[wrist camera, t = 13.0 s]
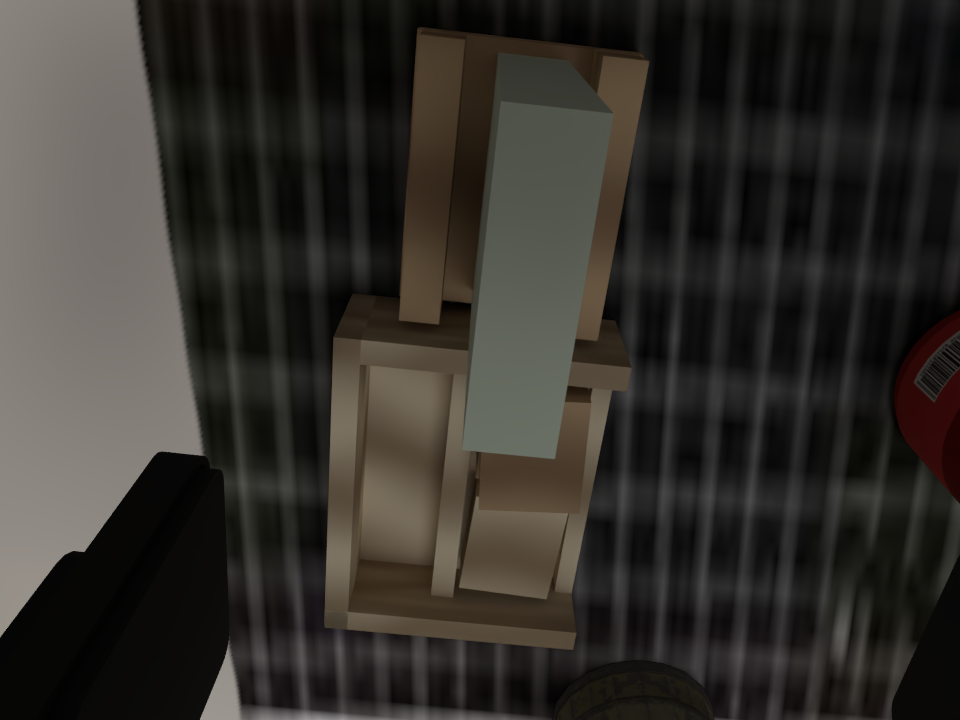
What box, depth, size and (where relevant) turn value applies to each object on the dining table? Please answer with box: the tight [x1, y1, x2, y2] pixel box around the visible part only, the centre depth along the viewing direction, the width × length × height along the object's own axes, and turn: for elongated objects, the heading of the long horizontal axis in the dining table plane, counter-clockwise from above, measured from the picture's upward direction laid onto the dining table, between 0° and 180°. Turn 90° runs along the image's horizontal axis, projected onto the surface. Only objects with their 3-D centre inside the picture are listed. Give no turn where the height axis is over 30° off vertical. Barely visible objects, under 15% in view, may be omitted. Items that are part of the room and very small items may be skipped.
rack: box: [324, 293, 632, 650], centre depth 35 cm, size 14×11×4 cm
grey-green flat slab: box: [462, 52, 614, 459], centre depth 25 cm, size 9×2×12 cm, turn 174°
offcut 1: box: [479, 386, 591, 514], centre depth 32 cm, size 5×4×2 cm
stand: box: [399, 27, 649, 341], centre depth 30 cm, size 10×8×4 cm
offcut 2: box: [459, 478, 568, 599], centre depth 36 cm, size 5×4×2 cm
